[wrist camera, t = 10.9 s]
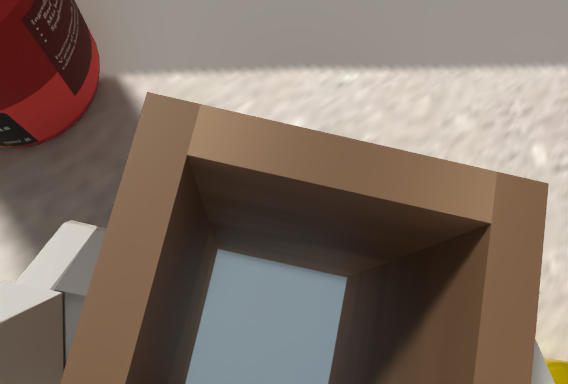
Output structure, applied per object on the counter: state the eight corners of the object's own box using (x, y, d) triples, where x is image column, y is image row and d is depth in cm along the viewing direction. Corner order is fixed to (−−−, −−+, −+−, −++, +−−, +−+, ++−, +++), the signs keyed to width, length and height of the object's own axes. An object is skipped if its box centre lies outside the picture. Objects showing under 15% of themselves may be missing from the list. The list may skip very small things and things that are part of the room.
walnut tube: (153, 408, 12) (7, 558, 5) (200, 221, 14) (147, 91, 6) (342, 447, 13) (506, 658, 5) (373, 259, 14) (548, 184, 6)
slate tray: (99, 408, 23) (79, 422, 20) (160, 191, 25) (150, 175, 22) (344, 460, 23) (359, 480, 20) (380, 241, 26) (399, 232, 23)
